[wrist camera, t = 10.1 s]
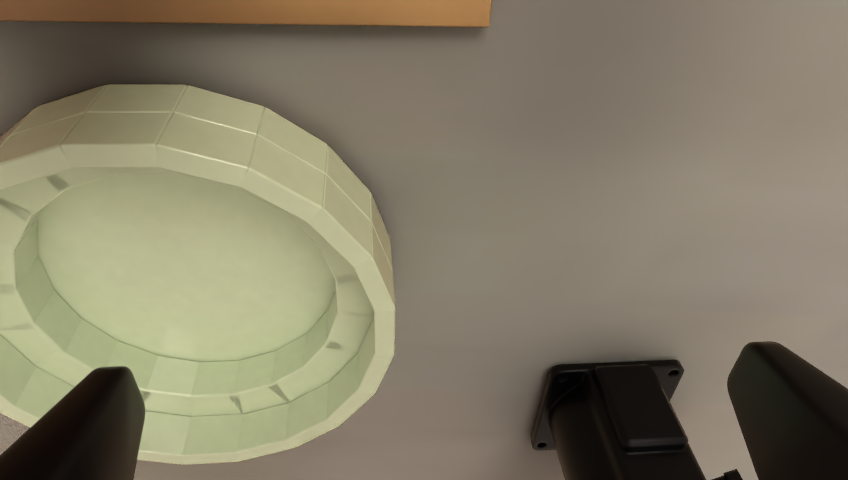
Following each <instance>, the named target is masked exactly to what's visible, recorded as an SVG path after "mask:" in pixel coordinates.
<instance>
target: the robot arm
mask: <svg viewBox="0 0 848 480" xmlns="http://www.w3.org/2000/svg"><path fill="white" fill-rule="evenodd" d="M683 373H684V369H683V367H682V366H681V364H680V362H679V361H677V360H659V361H636V362H613V363H591V364H568V365H557V366H555V367H553V368H552V369H550V371H549V373H548V377H547V381H546V384H545V388H544V392H543V396H542V399H541V403H540V407H539V410H538V414H537V418H536V421H535V425H534V429H533V433H532V436H531V443H532V447H533V448H534V449H535V450H556V451H557V454H558V457H559V461H560V464H561V468H562V471H563V474H564V478H565V480H706V478H705V476H704V474H703V472H702V470H701V468H700V466H699V464H698V462H697V460H696V458H695V456H694V454H693V452H692V450H691V448H690V446H689V444H688V438H687V436H686V434H685V432H684V430H683V428H682V426H681V424H680V422H679V420H678V418H677V416H676V414H675V412H674V410H673V408H672V406H671V404H670V402H669V401H670V399H671V397H672V395H673V393H674V391H675V389H676V387H677V385H678V383H679V381H680V379H681V377H682V375H683ZM727 387H728V392H729V396H730V399H731V402H732V405H733V407H734V410H735V413H736V416H737V419H738V422H739V425H740V428H741V431H742V433H743V436H744V439H745V442H746V445H747V448H748V451H749V454H750V457H751V459H752V462H753V465H754V468H755V471H756V474H757V476H758V479H759V480H848V389H847V388H846V387H844V386H843V385H841V384H840V383H838V382H837V381H835V380H834V379H832V378H831V377H829V376H828V375H826V374H825V373H823V372H822V371H820V370H819V369H817V368H816V367H814V366H813V365H811V364H810V363H808V362H807V361H805V360H804V359H802V358H801V357H799V356H798V355H796V354H795V353H793V352H792V351H790V350H789V349H787V348H786V347H784V346H783V345H781V344H779V343H777V342H770V341H769V342H751V343H748V344H747V345H745V346H744V348H743V349H742V351H741V353H740V355H739V357H738V359H737V361H736V363H735V365H734V367H733V368H732V370H731V372H730V374H729V377H728V381H727ZM144 420H145V404H144V400H143V398H142V395H141V393H140V390H139V388H138V386H137V383H136V381H135V378H134V376H133V373H132V371H131V370H130V369H129V368H128V367H126V366H111V367H99V368H96V369H95V370H93V371H92V372H90V373H89V374H88V375H87V376H86V377H85V378H84V379H83V380H82V381H80V382H79V383H78V384H77V385H76V386H75V387H74V388H73V389H72V390H71V391H70V392H69V393H67V394H66V395H65V396H64V397H63V398H62V399H61V400H60V401H59V402H58V403H57V404H55V405H54V406H53V407H52V408H51V409H50V410H49V411H48V412H47V413H46V414H45V415H44V416H42V417H41V418H40V419H39V420H38V421H37V422H36V423H35V424H34V425H33V426H32V427H31V428H29V429H28V430H27V431H26V432H25V433H24V434H23V435H22V436H21V437H20V438H19V439H18V440H16V441H15V442H14V443H13V444H12V445H11V446H10V447H9V448H8V449H7V450H6V451H4V452H3V453H2V454H1V455H0V480H133V478H134V473H135V468H136V462H137V457H138V452H139V447H140V441H141V436H142V431H143V425H144ZM712 480H743V479H742V478H741V476H740V474H739V472H738V471H737V469H735V470H732V471H729V472H726V473H724V476H721V477H718V478H715V479H712Z"/></svg>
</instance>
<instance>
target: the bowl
mask: <svg viewBox="0 0 848 480" xmlns="http://www.w3.org/2000/svg"><path fill="white" fill-rule="evenodd" d="M395 313H396V308H395V294H394V281H393V268H392V254H391V242H390V238H389V235H388V233H387V230H386V228H385V226H384V223H383V221H382V218H381V216H380V213H379V211H378V208H377V206H376V204H375V201H374V199H373V196H372V194H371V192H370V191H369V190H368V189H367V188H366V186H365V185H364V184H363V183H362V182H361V181H360V180H359V179H358V178H357V176H356V175H355V174H354V173H353V172H352V171H351V170H350V169H349V168H348V167H347V165H346V164H345V163H344V162H343V161H342V160H341V159H340V158H339V157H338V155H337V154H336V153H335V152H334V151H333V150H332V149H331V148H330V147H329V146H328V145H327V144H326V143H325V142H323V141H321V140H320V139H318V138H316V137H315V136H313V135H311V134H310V133H308V132H306V131H305V130H303V129H301V128H300V127H298V126H296V125H295V124H293V123H291V122H290V121H288V120H286V119H285V118H283V117H281V116H280V115H278V114H277V113H275V112H273V111H272V110H270V109H268V108H267V107H265V108H264V106H261V105H257V104H254V103H250V102H247V101H243V100H240V99H236V98H232V97H229V96H225V95H222V94H218V93H215V92H211V91H208V90H204V89H200V88H197V87H193V86H190V85H188V86H187V85H103V86H100V87H97V88H93V89H90V90H87V91H84V92H81V93H78V94H75V95H72V96H68V97H65V98H62V99H59V100H56V101H53V102H50V103H46V104H43V105H40V106H38V107H37V108H34V109H33V110H32V111H31V112H29V113H28V114H27V115H26V116H25V117H24V118H22V119H21V120H20V121H19V122H18V123H16V124H15V125H14V126H13V127H12V128H11V129H9V130H8V131H7V132H6V133H5V134H3V135H2V136H1V137H0V413H1V414H3V415H5V416H7V417H9V418H11V419H13V420H15V421H17V422H20V423H22V424H24V425H26V426H28V427H30V428H31V427H32V426H33V425H34V424H35V423H36V422H37V421H38V420H39V419H40V418H41V417H42V416H44V415H45V414H46V413H47V412H48V411H49V410H50V409H51V408H52V407H53V406H54V405H55V404H57V403H58V402H59V401H60V400H61V399H62V398H63V397H64V396H65V395H66V394H67V393H69V392H70V391H71V390H72V389H73V388H74V387H75V386H76V385H77V384H78V383H79V382H80V381H82V380H83V379H84V378H85V377H86V376H87V375H88V374H89V373H90V372H92V371H93V370H95V369H96V368H99V367H111V366H126V367H128V368H129V369H130V370H131V371H132V373H133V376H134V378H135V381H136V383H137V386H138V388H139V390H140V393H141V395H142V398H143V400H144V404H145V420H144V425H143V431H142V436H141V441H140V447H139V452H138V457H137V460H143V461H152V462H162V463H171V464H180V465H181V464H183V465H190V464H207V463H224V462H240V461H241V460H242V461H244V460H248V459H252V458H256V457H261V456H265V455H269V454H273V453H277V452H281V451H285V450H289V449H293V448H296V447H298V446H300V445H303V444H305V443H307V442H309V441H311V440H313V439H315V438H317V437H319V436H321V435H323V434H325V433H327V432H329V431H331V430H333V429H335V428H337V427H339V426H340V425H342V424H343V423H344V422H345V421H346V420H347V419H348V418H349V417H350V416H351V415H353V414H354V413H355V412H356V411H357V410H358V409H359V408H360V407H361V406H362V405H364V404H365V403H366V402H367V401H368V400H369V399H370V398H371V397H372V396H373V395H374V394H375V393H376V391H377V389H378V387H379V385H380V383H381V381H382V379H383V377H384V375H385V373H386V371H387V369H388V367H389V365H390V363H391V361H392V359H393V357H394V354H395Z"/></svg>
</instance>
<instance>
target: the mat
mask: <svg viewBox="0 0 848 480" xmlns="http://www.w3.org/2000/svg"><path fill="white" fill-rule="evenodd" d="M491 3H492V0H0V21H56V22H137V23H217V24H298V25H378V26H458V27H488V26H489V22H490V12H491Z"/></svg>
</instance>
